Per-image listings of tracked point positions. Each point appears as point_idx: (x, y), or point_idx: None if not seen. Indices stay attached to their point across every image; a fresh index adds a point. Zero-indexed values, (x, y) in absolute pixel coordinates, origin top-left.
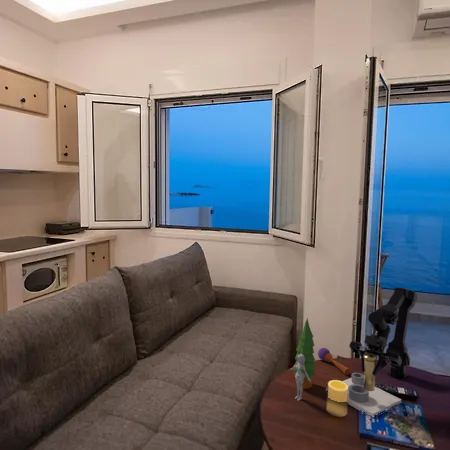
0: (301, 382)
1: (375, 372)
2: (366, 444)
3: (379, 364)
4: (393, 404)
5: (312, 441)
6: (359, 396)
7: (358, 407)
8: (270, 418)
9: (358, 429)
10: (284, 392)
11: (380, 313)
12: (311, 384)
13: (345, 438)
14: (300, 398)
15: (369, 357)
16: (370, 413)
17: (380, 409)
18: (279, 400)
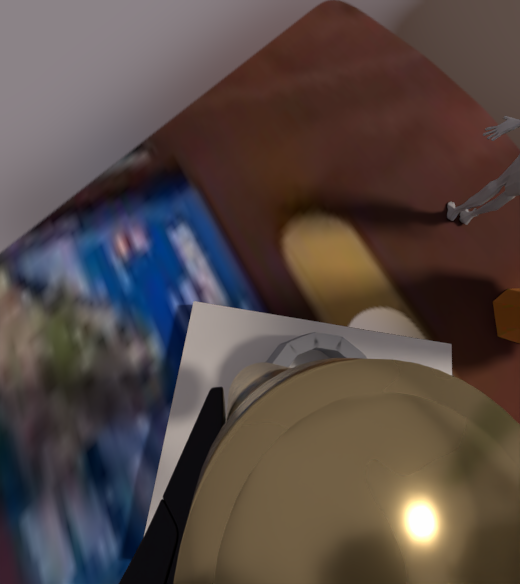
0: (516, 162)
1: (201, 409)
2: (144, 145)
3: (149, 550)
4: (157, 479)
5: (272, 61)
6: (287, 342)
7: (267, 314)
8: (420, 71)
9: (202, 198)
10: (514, 213)
11: None
12: (508, 330)
13: (210, 129)
14: (451, 210)
15: (342, 425)
16: (205, 304)
17: (183, 365)
18: (481, 160)
